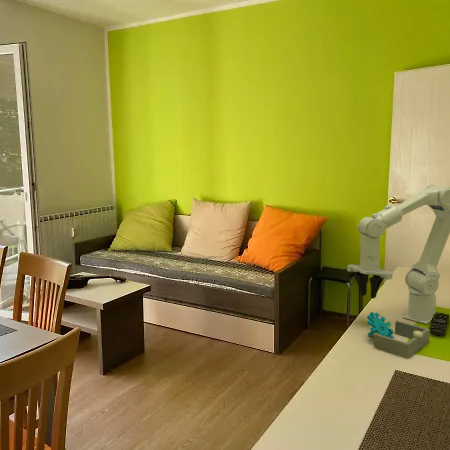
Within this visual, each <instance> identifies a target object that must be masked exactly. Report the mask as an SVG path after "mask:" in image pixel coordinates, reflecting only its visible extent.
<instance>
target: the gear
mask: <svg viewBox="0 0 450 450" xmlns="http://www.w3.org/2000/svg"><path fill="white" fill-rule="evenodd" d="M380 316H381V315H380V313H379V312H377V311H376V312H373V311H371V312H369V314H368V315H367V316H366V318H367V319H368V320H367V321H366V323H367V325H368V326H371V327H369V330H370V331H369V332H368V333H367V335H368V337H371V336H374V334H380V335H383V336H386V337H390V338H393V339H395V336H394V335H393V334H395V330H393V329H392V328H391V324H392V321H391V320H389V321H387V322H385V321H386V318H385V316H381V317H380Z"/></svg>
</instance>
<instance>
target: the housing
mask: <svg viewBox="0 0 450 450" xmlns="http://www.w3.org/2000/svg"><path fill="white" fill-rule="evenodd" d="M394 323H395V324H394V325H395V326H394V328H395V329H394V334H395V335H399V336H403V337H406V338H408V339H410V340H408V341H407V342H406V341H403V340H398V339H395V338H394V339H393V338H390V337H386V336H383V335H380V334H377V333H374V334H373V336H374V337H373V340H374V341H373V349H379V350H381V351H383V352H387V353H389V354H392V355H396V356H398V357H402V358H405V359H409V358H411V357H412V356H413V355H415V354H416V353H417V352H419V351H420V350H422V348H423V347H425V346H426V345H427V344H429V343H430V335H431V334H430V331H431V330H430V328H426V327H423V326H419V325H415V324H412V323H408V322H405V321H401V320H397V319H396V320H395V321H394Z"/></svg>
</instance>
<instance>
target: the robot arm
mask: <svg viewBox="0 0 450 450" xmlns="http://www.w3.org/2000/svg"><path fill="white" fill-rule="evenodd" d="M423 206H428V207H429V208H430V209H431V210H432V211H433V213H434V215H435V219H434V222H433V224H432V227H431V230H430V231H429V234H428V237H427V239H426V243H425V244H424V247H423V250H422V251H421V252H422V253H421V255H420V258H419V260H418V261H417V262H415V263H413V264H412V265H411V268H410V269H409V270H408V271H407V273H406V274H405V276H404V281H405V284H406V286H407V287H408V302H407V303H408V305H407V306H408V307H407V313H405V314H404V315H403V316H402V318H403V319H405V320H406V319H407V320H410V321H414V322H418V323H421V324H425V325H428V324H429V323H430V322H432V321H433V320H432V317H433V315H434V314H436V306H437V305H436V304H437V295H436V292H437V291H438V290H439V285H440V283H439V280H440V277H441V274H440V272H439V270H438V268H437V267H438V265H439V261H440V260H441V257H442V254H443V251H444V249H445V246H446V243H447V241H448V238H449V236H450V187H448V186H447V187H446V186H438V185H434V184H430V185H427V186H425V187H424V188H420V190H419V191H418V192H417V193H415V194H414V195H412V196H411V197H409V198H408V199H406V200H405V201H402V202H401V203H400V204H397V206H396V205H393V204H391V205H385V206H384V209H381V210H380V211H378V212H377V213H376V212H375V213H372V214H371V216H365V217H363V218H361V220H360V221H359V223H358V225H357V230H358V232H359V233H360V255H359V256H360V260H359V264H352V263H350V264H348V265H347V272H354V273H355V274H354V275H353V277H354V279H355V281H356V283H357V285H358V288H359V292H360V296H361V297H364V296H366V295H367V293H368V291H367V290H368V289H367V287H368V286H367V285H368V279H369V284H370V299H372V300H373V299H375V298H377V296H378V295H377V294H378V291H379V288H380V286H381V285H382V282H383V281H384V279H385V280H389V281H390V280H392V279H393V275H394V274H393V273H394V272H392V271H388V270H385V269H382V268H380V251H381V250H380V247H381V245H380V244H381V237H382V235H383V234H384V233H385V231H386V230H387V229H389V228H391V227H393V226H395V225H396V224H398V223H399V222H401V221H402V219H403V216H404V215H406V214H409V213H411V212H413V211H415V210H417V209H418V208H422V207H423ZM369 276H371V277H369ZM431 320H432V321H431Z"/></svg>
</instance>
